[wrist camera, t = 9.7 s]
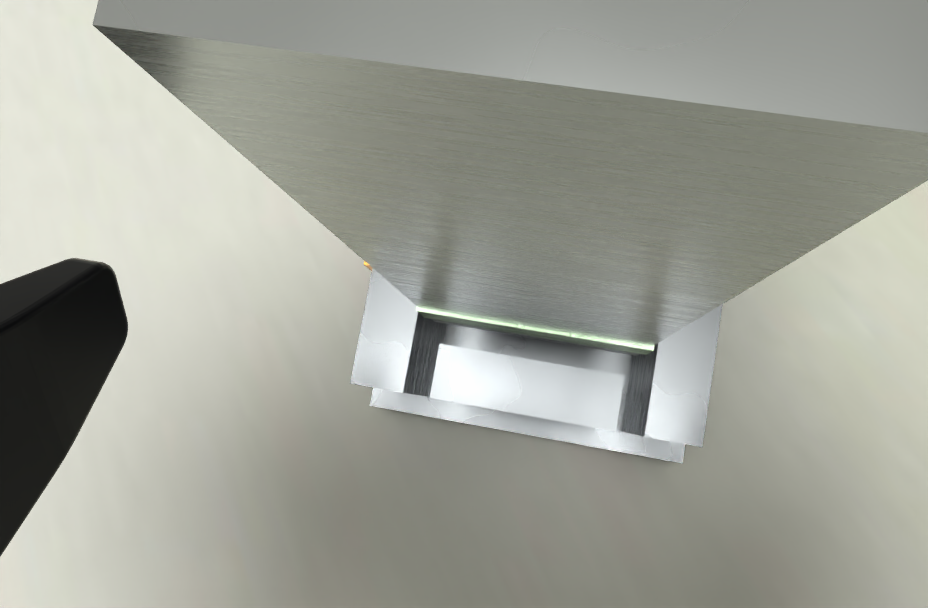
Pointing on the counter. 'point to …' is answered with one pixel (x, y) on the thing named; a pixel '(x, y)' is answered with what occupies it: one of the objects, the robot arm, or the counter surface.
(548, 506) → the counter surface
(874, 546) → the counter surface
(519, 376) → the grey holder with base
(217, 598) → the counter surface
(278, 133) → the column
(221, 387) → the counter surface
